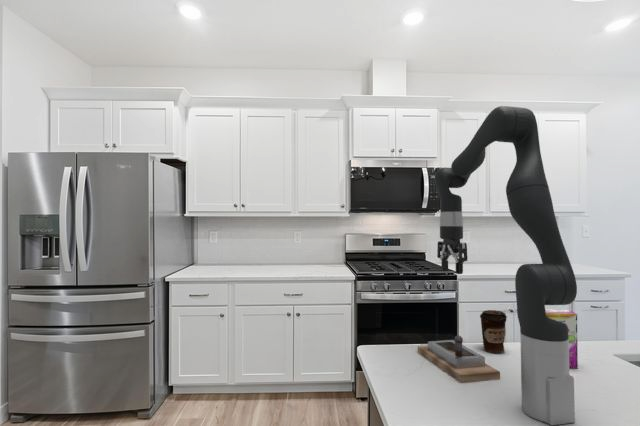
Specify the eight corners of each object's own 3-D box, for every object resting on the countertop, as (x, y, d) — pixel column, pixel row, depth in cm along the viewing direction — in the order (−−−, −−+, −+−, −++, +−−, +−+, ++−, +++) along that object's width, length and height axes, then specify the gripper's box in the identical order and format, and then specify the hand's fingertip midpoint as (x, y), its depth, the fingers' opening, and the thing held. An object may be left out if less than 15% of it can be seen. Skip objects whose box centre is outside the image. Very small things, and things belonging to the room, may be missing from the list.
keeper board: (500, 379, 98) (499, 344, 98) (461, 382, 95) (460, 348, 96) (450, 349, 121) (449, 322, 122) (417, 352, 119) (417, 324, 119)
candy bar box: (539, 368, 106) (538, 312, 106) (531, 361, 111) (529, 308, 111) (579, 369, 105) (578, 313, 105) (569, 363, 110) (567, 309, 110)
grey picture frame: (485, 366, 102) (484, 357, 102) (456, 368, 100) (456, 359, 100) (453, 347, 117) (452, 339, 117) (427, 349, 115) (427, 341, 115)
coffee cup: (513, 355, 116) (512, 315, 116) (487, 355, 116) (486, 314, 117) (500, 346, 125) (499, 309, 125) (476, 346, 125) (475, 308, 125)
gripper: (473, 225, 117) (474, 274, 116) (449, 225, 131) (449, 269, 130) (453, 225, 115) (454, 275, 115) (430, 225, 129) (431, 270, 129)
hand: (451, 272), depth 123 cm, fingers open, 8 cm apart
